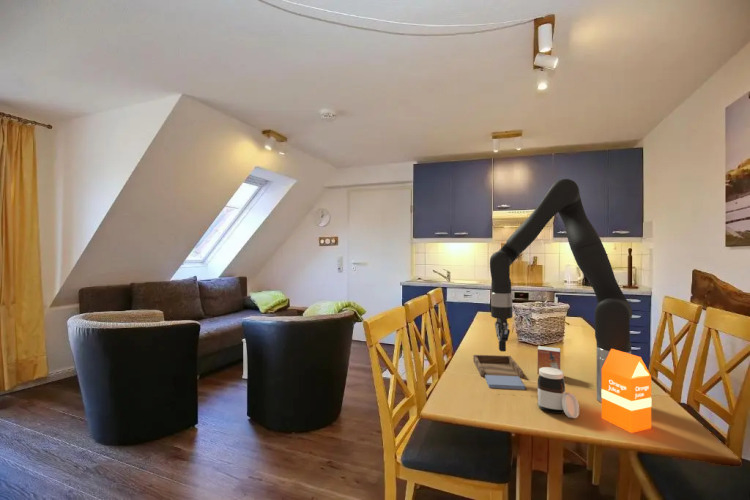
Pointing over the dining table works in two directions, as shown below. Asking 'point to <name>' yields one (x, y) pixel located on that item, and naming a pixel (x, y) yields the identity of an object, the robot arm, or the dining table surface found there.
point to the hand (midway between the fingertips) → (502, 350)
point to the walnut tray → (497, 366)
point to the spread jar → (555, 393)
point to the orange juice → (626, 391)
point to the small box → (548, 357)
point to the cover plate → (504, 382)
